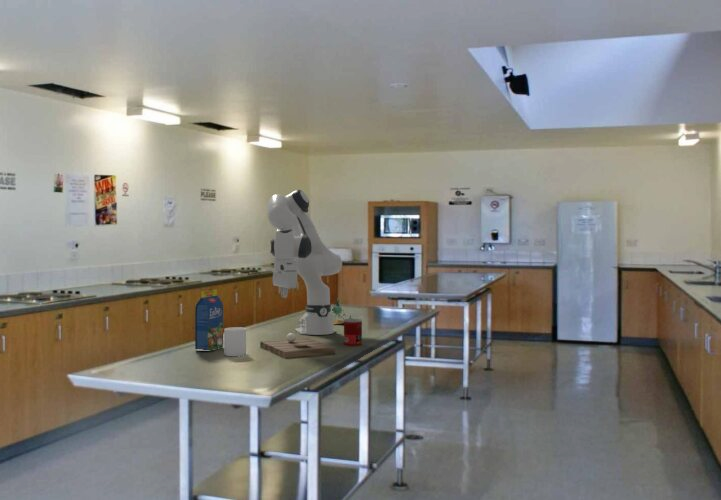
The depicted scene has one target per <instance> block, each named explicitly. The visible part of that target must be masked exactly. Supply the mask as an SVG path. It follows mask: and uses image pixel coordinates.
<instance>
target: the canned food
mask: <svg viewBox="0 0 721 500" xmlns="http://www.w3.org/2000/svg"><path fill="white" fill-rule="evenodd" d="M343 320H344V323H343V343H344V345H345V346H350V347H357V346H361V345H362V342H363V320H362V319H361V318H352V319H349V318H344V319H343Z"/></svg>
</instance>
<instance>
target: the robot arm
mask: <svg viewBox="0 0 721 500" xmlns="http://www.w3.org/2000/svg"><path fill="white" fill-rule="evenodd" d="M309 208H310V200H309V197H308V195H307V194H306V193H305V192H304V191H303V190H301V189H296V190H293V191H292V192H290V193H289V194H287V195H284V194H280V193H278V194H277V193H276V194H273V195H272V196H271V197H269V200H268V205H267V219H268V221H269V223H270V225H271V226H272V227H273V228H275V229H276V230H275V231H274V237H272V238H271V239H270V241H269V242H270V251H269V253H270V254H271V255H272V256H273V273H272V285H273V286H276V287H279V291H280V294H281V295H280V296H281V298H284V299H287V298H288V293H289V290H291V289H296V288H297V285H298V276H300V278H302V280H303V281H304V282H303V283H304V284H305V287H306V301H307V302H306V303H307V304H305V312H304V314H303V315H302V316H301V317H300V318H299V320H298V321H297V322H298V326H299V327H296V328H295V329H294V330H295V331H296V332H297V333H299V334H300V335H313V336H314V335H315V336H317V335H318V336H319V335H320V336H321V335H322V336H323V335H325V336H326V335H331V334H334V333H337V329H335V327H334V326H335V324H334V322H333V320H334V317H333V316H334V314H333V313H332V306H331V290H330V287H329V286H328V285H327V284H325V283H324V282H323V279H322V277H323V276H326V277H327V276H333V275H335V274H339V273H340V272H341V270H342V267H343V261H342V258H341V256H339V254H336V253H335V252H333V251H332V250H331V249H329V248H328V247H327V246H326V245H325V244H324V242H323V241H322V239H321V237H320V235H319V233H318V231H317V229H316V227H315V225H314V223H313V221H312V219H311V218H310V216H309V215H308V214H307V213H308V212H309ZM295 258H296V259H295ZM330 311H331V312H330Z"/></svg>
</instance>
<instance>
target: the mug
mask: <svg viewBox="0 0 721 500" xmlns="http://www.w3.org/2000/svg"><path fill="white" fill-rule="evenodd" d="M223 349H224V350H223V351H224V356H225V355H226V356H225V357H228V356H240V357H244V356H246V354H247V328H246V327H242V326H235V327H234V326H233V327H226V328H223ZM243 355H244V356H243Z"/></svg>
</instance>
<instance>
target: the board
mask: <svg viewBox="0 0 721 500" xmlns="http://www.w3.org/2000/svg"><path fill="white" fill-rule="evenodd" d="M259 344H260V345H259V347H260V348H261V349H263V350H265V351H267V352H269V351H270V353H272V354H274V355H276V356H279V357H281V358H282V359H291V358H300V357H312V356H322V355H323V356H325V355H326V356H327V355H333V354H335V353H336V351H335V349H336V348H335V347H334V346H331V345H328V344H325V343H323V342H320V341H317V340H314V339H312V338H309V337H306V338H305V337H304V338H296V339H295V341H294V342H288V341H287V339H278V340H277V339H276V340H275V339H274V340H262V341H260V343H259Z"/></svg>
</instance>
